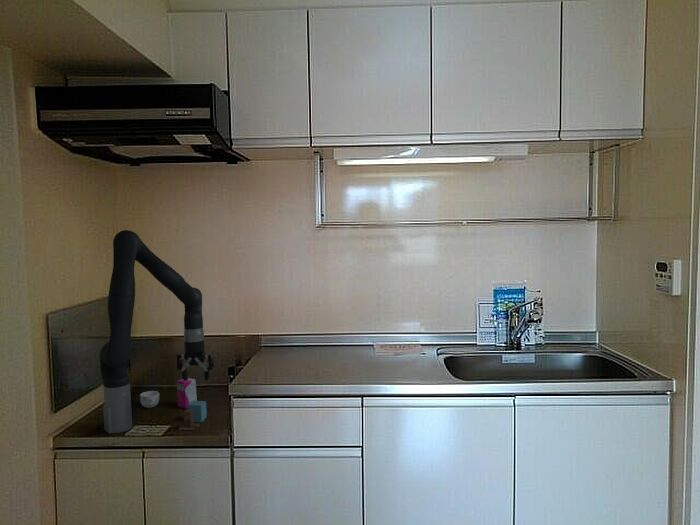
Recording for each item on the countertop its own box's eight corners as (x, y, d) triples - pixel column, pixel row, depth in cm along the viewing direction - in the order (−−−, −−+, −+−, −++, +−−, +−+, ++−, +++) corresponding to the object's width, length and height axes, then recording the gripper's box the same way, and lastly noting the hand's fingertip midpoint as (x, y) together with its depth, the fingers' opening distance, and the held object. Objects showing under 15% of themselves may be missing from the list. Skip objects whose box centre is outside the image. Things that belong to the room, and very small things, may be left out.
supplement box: (189, 403, 247) (187, 377, 246) (197, 406, 244) (196, 379, 243) (177, 407, 243) (176, 380, 242) (185, 409, 239) (184, 382, 238)
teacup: (138, 405, 246) (137, 393, 246) (156, 402, 250) (156, 389, 250) (144, 412, 238) (143, 399, 237) (163, 408, 242) (162, 395, 241)
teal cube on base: (201, 422, 224) (200, 405, 224) (188, 421, 225) (188, 405, 224) (206, 417, 229) (205, 401, 229) (194, 417, 230) (193, 400, 230)
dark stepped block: (193, 430, 216) (192, 413, 215) (178, 430, 216) (177, 413, 216) (199, 424, 221) (199, 408, 221) (184, 424, 222) (184, 407, 222)
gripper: (215, 337, 227) (217, 377, 229) (180, 337, 229) (182, 377, 231) (208, 341, 220) (210, 383, 221) (172, 341, 222) (174, 382, 223)
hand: (196, 380), depth 226 cm, fingers open, 8 cm apart
